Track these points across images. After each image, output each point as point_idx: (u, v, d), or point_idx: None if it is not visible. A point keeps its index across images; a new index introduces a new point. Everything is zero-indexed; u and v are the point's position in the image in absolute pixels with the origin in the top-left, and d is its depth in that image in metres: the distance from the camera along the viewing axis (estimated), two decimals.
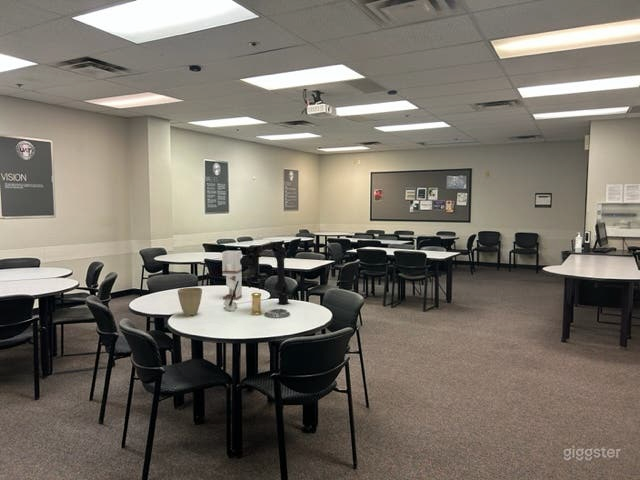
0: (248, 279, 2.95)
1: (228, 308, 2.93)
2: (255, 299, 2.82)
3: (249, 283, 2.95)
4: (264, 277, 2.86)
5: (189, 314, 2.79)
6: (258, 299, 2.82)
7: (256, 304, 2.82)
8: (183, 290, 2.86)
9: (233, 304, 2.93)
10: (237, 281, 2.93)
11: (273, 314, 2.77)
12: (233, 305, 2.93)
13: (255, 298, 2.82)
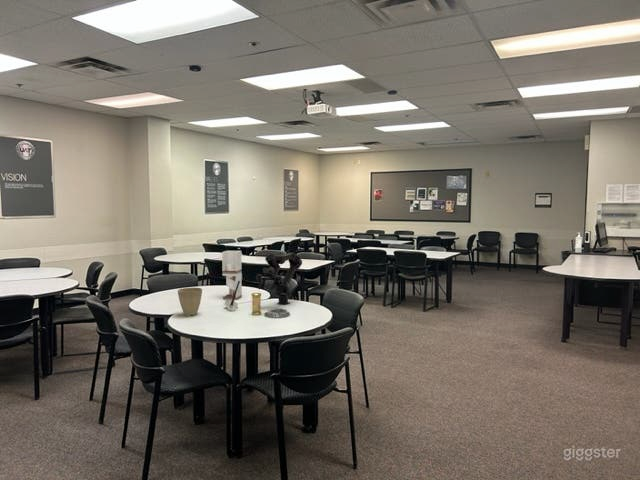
0: (261, 281, 2.98)
1: (229, 308, 2.93)
2: (255, 299, 2.82)
3: (260, 285, 2.97)
4: (281, 279, 2.94)
5: (189, 314, 2.79)
6: (258, 299, 2.82)
7: (256, 304, 2.82)
8: (183, 290, 2.86)
9: (234, 304, 2.94)
10: (238, 281, 2.93)
11: (273, 314, 2.77)
12: (234, 305, 2.94)
13: (255, 298, 2.82)
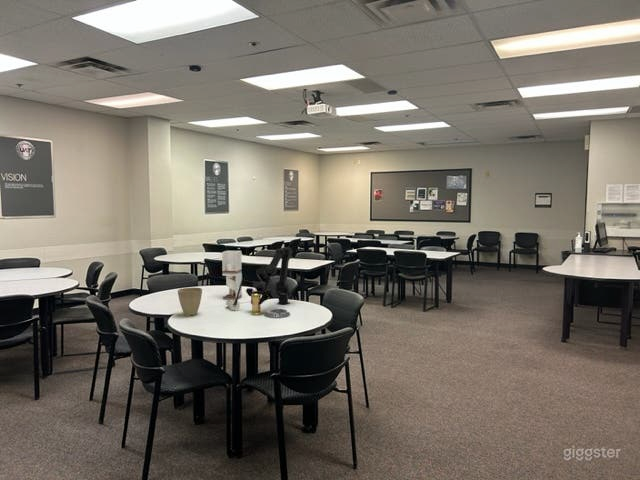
0: None
1: (233, 308, 2.94)
2: (255, 299, 2.82)
3: None
4: (272, 294, 2.84)
5: (189, 314, 2.79)
6: (258, 299, 2.82)
7: (256, 304, 2.82)
8: (183, 290, 2.86)
9: (238, 304, 2.95)
10: (241, 281, 2.95)
11: (273, 314, 2.77)
12: (238, 305, 2.95)
13: (255, 298, 2.82)
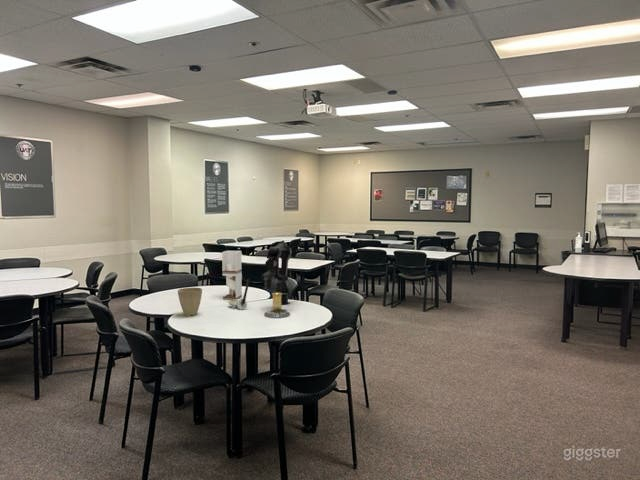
0: (268, 281, 2.98)
1: (241, 307, 2.97)
2: (277, 298, 2.79)
3: (269, 285, 2.99)
4: (284, 279, 2.90)
5: (189, 314, 2.79)
6: (280, 298, 2.81)
7: (278, 303, 2.80)
8: (183, 290, 2.86)
9: (245, 302, 2.99)
10: (248, 279, 2.99)
11: (273, 314, 2.77)
12: (245, 303, 2.99)
13: (277, 297, 2.79)
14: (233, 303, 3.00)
